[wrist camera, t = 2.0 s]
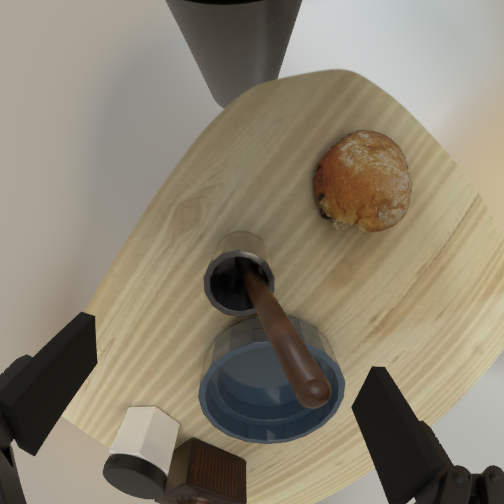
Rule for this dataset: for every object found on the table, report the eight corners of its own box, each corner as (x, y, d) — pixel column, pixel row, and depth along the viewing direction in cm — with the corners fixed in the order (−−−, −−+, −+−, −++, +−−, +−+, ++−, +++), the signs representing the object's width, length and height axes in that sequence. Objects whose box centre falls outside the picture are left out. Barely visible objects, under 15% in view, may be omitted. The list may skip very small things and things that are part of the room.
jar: (128, 396, 35) (99, 457, 24) (183, 414, 36) (167, 481, 24) (126, 431, 38) (103, 486, 26) (174, 447, 38) (161, 506, 27)
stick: (234, 249, 29) (308, 390, 11) (250, 252, 30) (342, 388, 11) (231, 265, 30) (297, 417, 11) (247, 267, 30) (329, 414, 12)
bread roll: (385, 208, 33) (440, 202, 25) (330, 254, 30) (388, 257, 22) (350, 132, 31) (402, 111, 23) (285, 165, 27) (337, 142, 20)
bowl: (216, 300, 32) (209, 327, 26) (348, 323, 33) (366, 350, 27) (199, 401, 35) (192, 433, 30) (309, 415, 36) (316, 446, 31)
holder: (219, 225, 30) (209, 244, 22) (273, 236, 30) (282, 258, 22) (210, 276, 31) (198, 309, 23) (262, 286, 31) (266, 322, 24)
